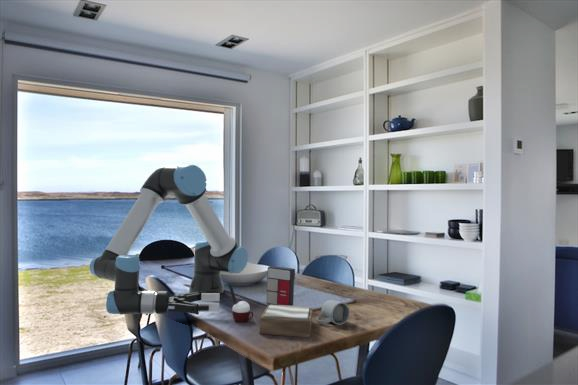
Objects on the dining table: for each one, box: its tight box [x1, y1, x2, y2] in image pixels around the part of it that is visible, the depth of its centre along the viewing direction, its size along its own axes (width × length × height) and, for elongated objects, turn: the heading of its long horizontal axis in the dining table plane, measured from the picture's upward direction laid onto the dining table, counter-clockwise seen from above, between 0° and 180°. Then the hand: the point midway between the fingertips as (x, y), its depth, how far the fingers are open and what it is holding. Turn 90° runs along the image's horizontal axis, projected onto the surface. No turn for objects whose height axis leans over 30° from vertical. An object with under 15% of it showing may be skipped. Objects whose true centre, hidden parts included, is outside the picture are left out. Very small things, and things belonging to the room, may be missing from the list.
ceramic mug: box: [316, 299, 350, 326], centre depth 146 cm, size 11×8×8 cm
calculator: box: [266, 265, 296, 306], centre depth 168 cm, size 11×4×15 cm, turn 62°
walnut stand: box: [259, 304, 313, 338], centre depth 138 cm, size 16×16×6 cm
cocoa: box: [228, 283, 254, 323], centre depth 145 cm, size 10×6×12 cm, turn 48°
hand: (219, 301), depth 143 cm, fingers open, 13 cm apart
